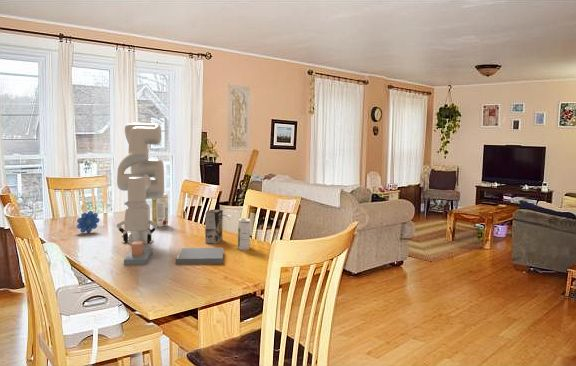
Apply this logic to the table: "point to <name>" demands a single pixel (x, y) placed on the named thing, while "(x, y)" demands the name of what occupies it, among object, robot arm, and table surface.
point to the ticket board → (199, 256)
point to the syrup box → (244, 234)
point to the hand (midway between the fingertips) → (137, 242)
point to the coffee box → (213, 226)
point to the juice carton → (160, 211)
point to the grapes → (88, 222)
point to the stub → (138, 254)
